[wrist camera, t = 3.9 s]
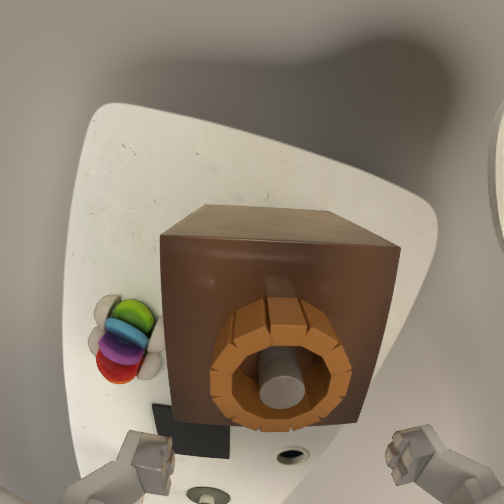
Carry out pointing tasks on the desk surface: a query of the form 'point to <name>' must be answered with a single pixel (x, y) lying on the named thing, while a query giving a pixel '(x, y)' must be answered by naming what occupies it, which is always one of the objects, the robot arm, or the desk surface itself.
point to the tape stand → (271, 285)
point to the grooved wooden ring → (278, 334)
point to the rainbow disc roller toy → (126, 340)
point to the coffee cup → (207, 496)
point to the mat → (192, 435)
